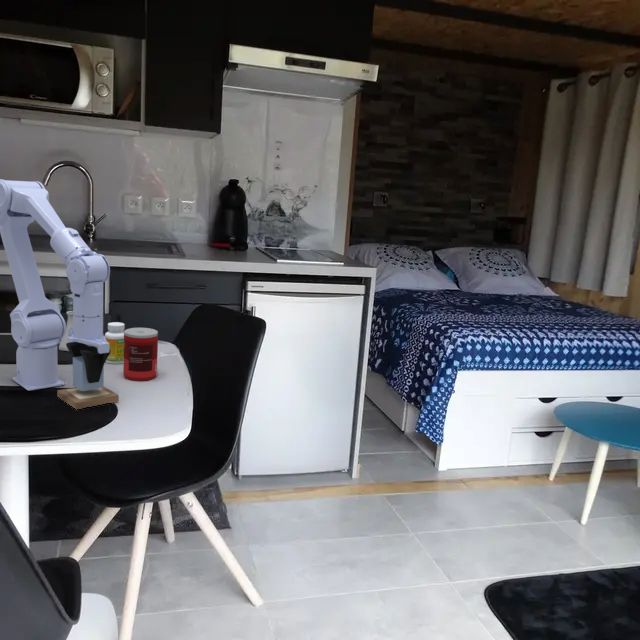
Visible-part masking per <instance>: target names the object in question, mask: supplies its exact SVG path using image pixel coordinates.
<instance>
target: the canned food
mask: <svg viewBox="0 0 640 640" xmlns="http://www.w3.org/2000/svg"><path fill="white" fill-rule="evenodd" d="M158 348H159V331H158V330H156V329H154V328H149V327H131V328H127V329H124V363H123V368H122V369H123V372H122V373H123V376H124V378H125V379H127V380H129V381H134V382H145V381H151V380H154V379H155V378H156V377H157V374H158V350H159V349H158Z"/></svg>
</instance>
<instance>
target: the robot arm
mask: <svg viewBox="0 0 640 640" xmlns="http://www.w3.org/2000/svg"><path fill="white" fill-rule="evenodd" d="M35 221H36V223H37V224H38V225H39V226H40V227H41V228H42V229H43V230H44V231H45V232H46V234H47V235H49V236H50V242H49V245H50V247H51V248H52V250H53V251H54V252H55V253H56V254H57V256H58V257H59V258H60V259H61V261H62V262H63V263H64V265H65V266H66V267H67V268H66V269H65V272H66V277H67V279H68V281H69V284H70V285H69V286H70V287H69V289H70V291H71V293H72V306H73V307H72V311H73V328H71V329H68V337H67V340H68V341H70V342H69V343H66V346H67V348H68V349H69V351H68V352H69V353H70V356H71V358H72V359H73V357H80V356H82V357H83V359H84V362H85V366H86V374H87V380H88V383H95V382H99V380H100V377H101V373H102V369H103V366H104V365H105V364H106V362H105V361H106V359H107V358H108V356H109V355H110V352H111V350H110V349H109V343H108V342H107V341H106V339H105V334H104V283H105V282H106V281H108V280H109V277H110V273H111V268H110V263H109V261H108V259H107V258H106V256H105V255H104V254H101V253H97V252H96V251H93V250H92V249H91V248H90V247H89V245H87V243H86V241H84V240H83V238H82V237H81V235H80V233H79V232H78V230H76V229H74V228H72V227H66V226H65V224H64V223H63V221H62V220H61V218H60V216H59V215H58V214H57V212H56V211H55V208H54V207H53V206H52V205H51V203H50V195H49V191H48V190H47V189H46V188H45V186H44V184H43V183H42V182H41V181H37V180H34V181H28V180H27V181H25V180H8V179H7V180H6V179H1V178H0V238H1V241H2V245H3V247H4V251H5V254H6V259H7V263H8V267H9V269H10V274H11V277H12V281H13V285H14V287H15V292H16V296H17V299H18V302H19V303H18V304H17V305H16V306H15V308H14V309H13V310H12V311H11V312H10V313H9V317H10V321H11V323H10V324H11V325H10V326H11V327H10V328H11V329H10V332H11V336H12V338H13V340H14V341H15V342H16V344H17V346H18V347H17V349H16V351H15V352H16V376H13V377H12V378H11V379H12V380H13V382H15V383H16V384H18V385H20V387H22V388H24V389H25V390H27V391H36V390H41V389H47V388H53V387H59V386H65V385H66V383H65V381H63V380H61V379H60V378H58V345H60V342H61V340H62V338H63V336H64V335H65V332H66V326H67V322H66V320H65V319H64V317H63V315H62V314H61V312H60V310H59V306H58V305H57V303H55V302H54V301H52V300H50V299H48V298H47V297H46V293H45V291H44V286H43V283H42V279H41V275H40V273H39V269H38V264H37V262H36V258H35V254H34V251H33V246H32V244H31V240H30V236H29V233H28V227H29V225H30V224H32V223H34V222H35Z"/></svg>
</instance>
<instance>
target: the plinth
mask: <svg viewBox="0 0 640 640" xmlns="http://www.w3.org/2000/svg"><path fill="white" fill-rule="evenodd" d="M56 391H57V393H56V394H57V397H59V398H60V399H61V400H60V399H59V398H58V399H59V400H60V401H62V400H63V401H64V402H63V401H62V402H63V403H65V402H66V403H67V404H66V403H65V404H66V405H68V404H69V405H70V406H72V407H73V408H75V409H76V410H75V409H74V410H75V411H78V410H77V409H82V408H86V407H92V406H97V405H102V404H106V403H112V404H114V403H113V402H117V401H120V400H119V398H120V397H119V394H118V393H116V392H114V390H113V391H112V390H111V389H110V388H108V387H106V386H104V385H103V388H99V389H93V390H87V391H81V390H80V389H78V388H76V387H75V386H73V387H69V388H63V389H58V390H56ZM117 403H118V402H117ZM69 405H68V406H69ZM70 406H69V407H70ZM102 406H103V405H102ZM72 407H71V408H72ZM97 407H98V406H97ZM73 408H72V409H73ZM92 408H93V407H92ZM82 410H83V409H82Z"/></svg>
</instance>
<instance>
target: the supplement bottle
mask: <svg viewBox="0 0 640 640" xmlns="http://www.w3.org/2000/svg"><path fill="white" fill-rule="evenodd" d="M125 325H126V324H125V323H123V322H119V321H116V322H115V321H114V322H113V321H112V322H108V323H107V330H108V331H107V332H105V334H104V337H105V339H106V341H107V342H108V343H109V349H110V350H111V352H110V355H109V356H108V358H107V359H106V361H105V363H106V364H111V365H120V364H124V331H125V327H126V326H125Z"/></svg>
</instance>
